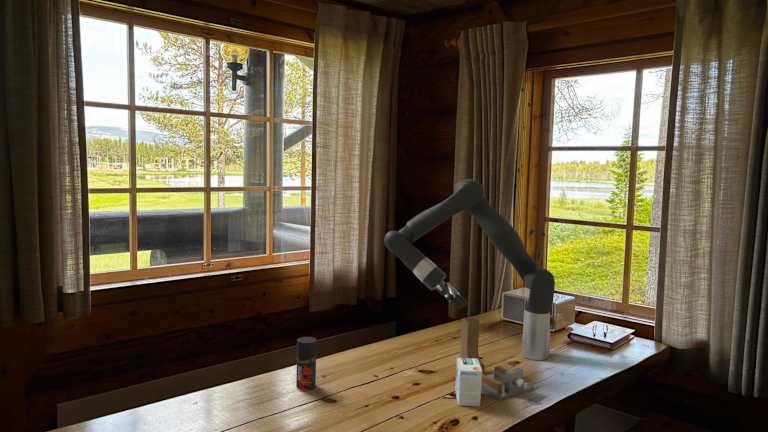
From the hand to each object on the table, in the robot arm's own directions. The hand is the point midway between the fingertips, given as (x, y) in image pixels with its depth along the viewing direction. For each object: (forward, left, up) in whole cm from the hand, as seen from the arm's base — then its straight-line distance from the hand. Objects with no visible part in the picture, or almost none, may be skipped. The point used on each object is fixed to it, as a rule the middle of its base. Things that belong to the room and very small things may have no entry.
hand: (464, 306), depth 186 cm
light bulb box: (+14, +18, -23) cm, 32 cm away
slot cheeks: (-1, +16, -21) cm, 26 cm away
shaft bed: (-1, +17, -22) cm, 28 cm away
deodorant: (+52, -14, -23) cm, 58 cm away
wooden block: (-1, +4, -23) cm, 23 cm away
